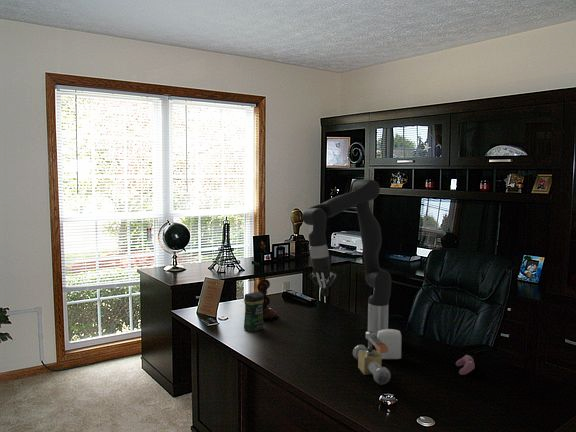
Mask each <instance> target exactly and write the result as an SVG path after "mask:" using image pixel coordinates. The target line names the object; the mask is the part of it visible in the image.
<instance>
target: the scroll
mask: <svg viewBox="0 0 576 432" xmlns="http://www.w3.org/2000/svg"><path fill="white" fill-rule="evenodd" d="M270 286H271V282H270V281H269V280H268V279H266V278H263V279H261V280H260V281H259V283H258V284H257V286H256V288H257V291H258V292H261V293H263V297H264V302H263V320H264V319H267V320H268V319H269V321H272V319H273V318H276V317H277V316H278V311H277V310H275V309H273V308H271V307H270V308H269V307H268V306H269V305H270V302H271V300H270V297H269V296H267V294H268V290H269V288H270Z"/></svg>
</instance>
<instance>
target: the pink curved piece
mask: <svg viewBox="0 0 576 432" xmlns="http://www.w3.org/2000/svg"><path fill="white" fill-rule="evenodd" d="M455 365H456V366H457V367H461V368H460V369H459V371H458V374H459V375H460V376H465V375H467V374H469V373H471V372H472V371H473V370H475V368H476V367H475V365H476V364H475V361H474V358H473V357H472V356H471V355H468V354H465V355H464V356H463V357H461V358H460V359H457V361H456V362H455ZM462 366H463V367H462Z"/></svg>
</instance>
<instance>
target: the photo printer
mask: <svg viewBox="0 0 576 432" xmlns="http://www.w3.org/2000/svg"><path fill="white" fill-rule="evenodd" d="M401 333H402V332H401V331H400V330H398V329H393V328H388V329H384V330H380V331H378V334H377V338H378V339H379V340H380V341H381V342H383V343H384V344H385V345H386V346H387V347H388V353H380V352H379V351H378V350H377V349H376V351H377V352H378V353H379V354H380V355H381V356H382V360H399V359H402V334H401Z"/></svg>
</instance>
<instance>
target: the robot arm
mask: <svg viewBox="0 0 576 432" xmlns="http://www.w3.org/2000/svg"><path fill="white" fill-rule="evenodd" d="M351 189H352V191H350V192H346V193H343V194H340V195H336V196H334V197H332V198H330V199H328V200H325V201H324V202H322V203H320V204H316V205H313V206H311V207H308V208H306V209H305V210H304V211H303V213H302V218H301V219H302V221H303V223H304V224H306V225H308V226H312V231H310V232H309V233H308V242H309V243H308V244H309V253H310V260H311V267H312V272H311V273H310V274H309V275H308V277H309V278H310V280H311V281H312V283H313V284H314V285H315V287H319V288H320V292H321V295H322V297H328V296H329V295H330V292H329V287H330V286H332V285H333V283H334V281H335V280H336V278H337V276H338V274H337V273H334V272H332V269H331V261H330V253H329V247H328V245H327V237H326V232H327V222H328V220H327V219H329V218H333V217H334V216H337V215H338V214H340V213H342V212H344V211H346V210H348V209H351V208H353V207H354V206H355V210H356V213H357V219H358V225H359V230H360V231H359V232H360V239H361V245H362V250H363V252H362V253H363V260H364V273H365V274H364V276H365V282H366V284H367V286H369V287H371V288H373V294H372V295H370V296H369V297H368V300H367V301H368V302H367V304H368V306H367V331H373V332H375V336H376V337H377V334H378V331H380V330H384V329H389V302H390V299H391V294H392V293H391V292H392V276H391V274H390V272H388V271H387V270H385V269H381V267H380V262H379V254H380V251H381V247H382V244H383V243H382V242H383V237H382V229H381V225H380V223H379V222H378V220H377V218H376V216H375V215H374V214H373V211H372V210H371V207H370V202H369V201H373V200H375V199H376V198H378V196H379V194H380V192H381V187H380V184H379V182H378V181H376V180H374V179H357V180H355V181H354V182H353V184H352V188H351Z"/></svg>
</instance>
